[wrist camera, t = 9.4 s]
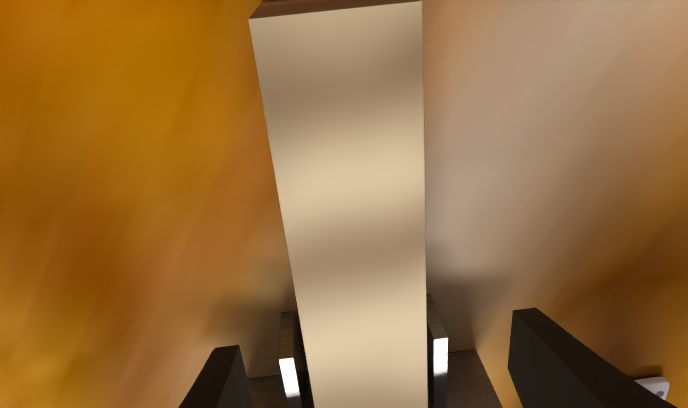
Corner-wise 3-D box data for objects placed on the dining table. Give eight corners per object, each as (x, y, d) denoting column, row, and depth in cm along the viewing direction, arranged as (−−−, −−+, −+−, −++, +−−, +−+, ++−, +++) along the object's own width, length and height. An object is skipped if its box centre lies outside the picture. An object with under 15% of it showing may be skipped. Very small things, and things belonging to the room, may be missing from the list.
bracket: (475, 358, 25) (513, 443, 21) (247, 388, 25) (237, 481, 20) (479, 288, 23) (522, 365, 19) (230, 319, 23) (214, 406, 18)
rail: (403, 336, 24) (427, 420, 20) (315, 347, 24) (319, 435, 20) (389, -11, 17) (421, -1, 12) (261, 2, 17) (247, 17, 12)
